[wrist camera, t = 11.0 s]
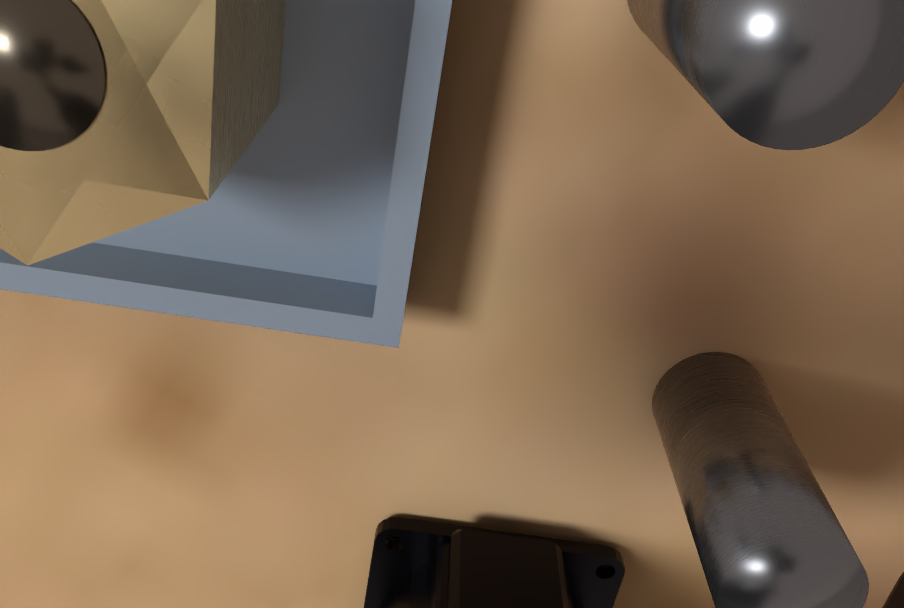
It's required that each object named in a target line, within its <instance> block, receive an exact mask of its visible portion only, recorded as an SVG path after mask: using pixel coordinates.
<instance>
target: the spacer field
mask: <svg viewBox="0 0 904 608" xmlns="http://www.w3.org/2000/svg"><path fill="white" fill-rule="evenodd" d="M627 2H628V6H629V9H630V12H631V14H632V16H633V18H634V20H635V22H636V23H637V25H638V26H639V28H640V29H641V30H642V31H643V32H644V33H645V34H646V36H647V37H648V38H649V39H650V40H651V41H652V42H653V43H654V44H655V45H656V47H657V48H658V49H659V50H660V51H661V52H662V53H663V54H664V55H665V57H666V58H667V59H668V60H669V61H670V62H671V63H672V64H673V65H674V66H675V68H676V69H677V70H678V71H679V72H680V73H681V74H682V75H683V76H684V77H685V79H686V80H687V81H688V82H689V83H690V84H691V85H692V86H693V87H694V88H695V90H696V91H697V92H698V93H699V94H700V95H701V96H702V97H703V98H704V99H705V101H706V102H707V103H708V104H709V105H710V106H711V107H712V108H713V109H714V111H715V112H716V113H717V114H718V115H719V116H720V117H721V118H722V119H723V120H724V121H725V122H726V124H727V125H728V126H729V127H730V128H731V129H733V130H734V131H735V132H737V133H738V134H739V135H740V136H742V137H744V138H746V139H748V140H749V141H751V142H754V143H756V144H759V145H761V146H765V147H769V148H774V149H782V150H802V149H808V148H815V147H818V146H822V145H826V144H829V143H831V142H834V141H836V140H839V139H841V138H843V137H845V136H847V135H849V134H851V133H853V132H854V131H856V130H857V129H859V128H860V127H862V126H863V125H865V124H866V123H867V122H869V121H870V120H871V119H872V118H873V117H875V116H876V115H877V114H878V113H879V112H880V111H881V110H882V109H883V108H884V107H885V106H886V105H887V104H888V103H889V101H890V100H891V99H892V97H893V96H894V95H895V94H896V92H897V91H898V89H899V88H900V86H901V85H902V83H903V81H904V0H627ZM652 408H653V413H654V417H655V420H656V423H657V426H658V429H659V432H660V436H661V439H662V442H663V445H664V448H665V451H666V454H667V457H668V461H669V464H670V467H671V470H672V473H673V476H674V479H675V482H676V486H677V489H678V492H679V495H680V498H681V501H682V504H683V507H684V511H685V514H686V517H687V520H688V523H689V526H690V529H691V532H692V536H693V539H694V542H695V545H696V548H697V551H698V554H699V557H700V561H701V564H702V567H703V570H704V573H705V576H706V579H707V582H708V586H709V589H710V592H711V595H712V598H713V601H714V604H715V607H716V608H862V607H863V606H864V603H865V601H866V599H867V595H868V588H869V583H868V577H867V574H866V571H865V569H864V567H863V566H862V564H861V562H860V560H859V558H858V556H857V554H856V553H855V551H854V549H853V547H852V545H851V543H850V542H849V540H848V538H847V536H846V534H845V532H844V530H843V529H842V527H841V525H840V523H839V521H838V519H837V518H836V516H835V514H834V512H833V510H832V508H831V506H830V505H829V503H828V501H827V499H826V497H825V495H824V494H823V492H822V490H821V488H820V486H819V484H818V482H817V481H816V479H815V477H814V475H813V473H812V471H811V470H810V468H809V466H808V464H807V462H806V460H805V458H804V457H803V455H802V453H801V451H800V449H799V447H798V446H797V444H796V442H795V440H794V438H793V436H792V434H791V433H790V431H789V429H788V427H787V425H786V423H785V422H784V420H783V418H782V416H781V414H780V412H779V410H778V409H777V407H776V405H775V403H774V401H773V399H772V398H771V396H770V394H769V392H768V390H767V388H766V386H765V385H764V383H763V381H762V379H761V377H760V375H759V374H758V372H757V371H756V369H755V368H754V367H753V366H752V365H751V364H749V363H748V362H747V361H745V360H743V359H741V358H739V357H737V356H734V355H730V354H726V353H705V354H699V355H695V356H692V357H690V358H687V359H685V360H683V361H681V362H679V363H678V364H676V365H675V366H673V367H672V368H671V369H669V370H668V371H667V372H666V373H665V374H664V376H663V377H662V378H661V379H660V381H659V383H658V384H657V386H656V389H655V391H654V394H653V400H652Z"/></svg>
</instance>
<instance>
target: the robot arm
mask: <svg viewBox="0 0 904 608" xmlns="http://www.w3.org/2000/svg"><path fill="white" fill-rule="evenodd" d="M390 536H397V537H400V538H401V539H397V540H393V539H391V538H389V537H390ZM607 564H608V565H609V566H607V567H599V566H601V565H607ZM624 571H625V568H624V563H623V558H622V556H621V554H620V552H619V551H618V550H616V549H615V548H612V547H609V546H602V545H595V544H587V543H580V542H573V541H565V540H558V539H551V538H543V537H536V536H528V535H521V534H514V533H506V532H499V531H492V530H484V529H477V528H469V527H462V526H455V525H447V524H440V523H433V522H425V521H418V520H410V519H403V518H388V519H385V520H383V521H382V522H381V523H379V524H378V526H377V529H376V533H375V540H374V546H373V552H372V559H371V565H370V571H369V578H368V584H367V590H366V597H365V603H364V608H612V607H613V605H614V602H615V599H616V596H617V593H618V590H619V588H620V585H621V582H622V579H623V576H624ZM882 608H904V572H903V573H902V575H901V576H900V577H899V579H898V581H897V583H896V584H895V586H894V588H893V590H892V591H891V593H890V595H889V597H888V599H887V600H886V602H885V604H884V606H883V607H882Z"/></svg>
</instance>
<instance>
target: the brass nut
mask: <svg viewBox="0 0 904 608" xmlns="http://www.w3.org/2000/svg"><path fill="white" fill-rule="evenodd" d="M285 13H286V0H0V248H1V249H2V250H4V251H5V252H7V253H9V254H10V255H12V256H13V257H15V258H16V259H18V260H20V261H21V262H23V263H24V264H26V265H30V264H33V263H36V262H39V261H42V260H44V259H47V258H50V257H53V256H56V255H58V254H61V253H64V252H67V251H69V250H72V249H75V248H78V247H81V246H83V245H86V244H89V243H92V242H94V241H97V240H100V239H103V238H106V237H108V236H111V235H114V234H117V233H120V232H122V231H125V230H128V229H131V228H133V227H136V226H139V225H142V224H145V223H147V222H150V221H153V220H156V219H158V218H161V217H164V216H167V215H170V214H172V213H175V212H178V211H181V210H184V209H186V208H189V207H192V206H195V205H197V204H200V203H203V202H206V201H209V199H210V198H211V196H212V195H213V194H214V192H215V191H216V190H217V188H218V187H219V185H220V184H221V183H222V181H223V180H224V179H225V177H226V176H227V174H228V173H229V172H230V170H231V169H232V168H233V166H234V165H235V164H236V162H237V161H238V159H239V158H240V157H241V155H242V154H243V153H244V151H245V150H246V148H247V147H248V146H249V144H250V143H251V142H252V140H253V139H254V137H255V136H256V135H257V133H258V132H259V131H260V129H261V128H262V127H263V125H264V124H265V122H266V121H267V120H268V118H269V117H270V116H271V114H272V113H273V111H274V110H275V109H276V107H277V106H278V105H279V93H280V79H281V66H282V53H283V39H284V26H285Z"/></svg>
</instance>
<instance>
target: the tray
mask: <svg viewBox="0 0 904 608" xmlns="http://www.w3.org/2000/svg"><path fill="white" fill-rule="evenodd" d="M451 6H452V0H286V13H285V26H284V39H283V53H282V66H281V79H280V93H279V105H278V106H277V107H276V109H275V110H274V111H273V113H272V114H271V116H270V117H269V118H268V120H267V121H266V122H265V124H264V125H263V127H262V128H261V129H260V131H259V132H258V133H257V135H256V136H255V137H254V139H253V140H252V142H251V143H250V144H249V146H248V147H247V148H246V150H245V151H244V153H243V154H242V155H241V157H240V158H239V159H238V161H237V162H236V164H235V165H234V166H233V168H232V169H231V170H230V172H229V173H228V174H227V176H226V177H225V179H224V180H223V181H222V183H221V184H220V185H219V187H218V188H217V190H216V191H215V192H214V194H213V195H212V196H211V198H210V199H209V201H206V202H203V203H200V204H197V205H195V206H192V207H189V208H186V209H184V210H181V211H178V212H175V213H172V214H170V215H167V216H164V217H161V218H158V219H156V220H153V221H150V222H147V223H145V224H142V225H139V226H136V227H133V228H131V229H128V230H125V231H122V232H120V233H117V234H114V235H111V236H108V237H106V238H103V239H100V240H97V241H94V242H92V243H89V244H86V245H83V246H81V247H78V248H75V249H72V250H69V251H67V252H64V253H61V254H58V255H56V256H53V257H50V258H47V259H44V260H42V261H39V262H36V263H33V264H30V265H26V264H24V263H23V262H21V261H20V260H18V259H16V258H15V257H13V256H12V255H10V254H9V253H7V252H5V251H4V250H2V249H1V248H0V289H3V290H10V291H17V292H23V293H30V294H37V295H44V296H50V297H57V298H64V299H71V300H78V301H84V302H91V303H98V304H105V305H112V306H118V307H125V308H132V309H139V310H145V311H152V312H159V313H166V314H173V315H179V316H186V317H193V318H200V319H206V320H213V321H220V322H227V323H234V324H240V325H247V326H254V327H261V328H267V329H274V330H281V331H288V332H295V333H301V334H308V335H315V336H322V337H329V338H335V339H342V340H349V341H356V342H362V343H369V344H376V345H383V346H390V347H396V348H399V343H400V336H401V330H402V323H403V317H404V310H405V304H406V297H407V291H408V284H409V278H410V271H411V265H412V258H413V252H414V245H415V239H416V232H417V226H418V219H419V213H420V207H421V200H422V194H423V187H424V181H425V174H426V168H427V161H428V155H429V148H430V142H431V135H432V129H433V122H434V116H435V109H436V103H437V96H438V90H439V83H440V77H441V70H442V64H443V57H444V51H445V44H446V38H447V31H448V25H449V19H450V12H451Z"/></svg>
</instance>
